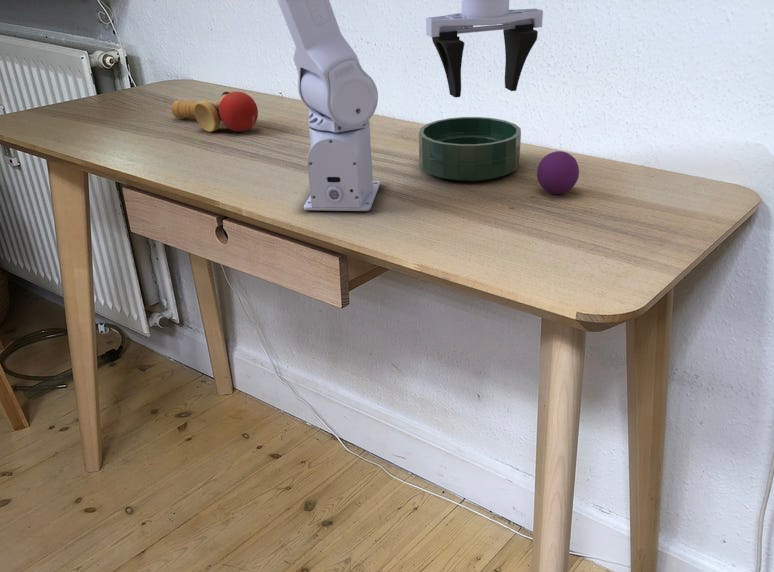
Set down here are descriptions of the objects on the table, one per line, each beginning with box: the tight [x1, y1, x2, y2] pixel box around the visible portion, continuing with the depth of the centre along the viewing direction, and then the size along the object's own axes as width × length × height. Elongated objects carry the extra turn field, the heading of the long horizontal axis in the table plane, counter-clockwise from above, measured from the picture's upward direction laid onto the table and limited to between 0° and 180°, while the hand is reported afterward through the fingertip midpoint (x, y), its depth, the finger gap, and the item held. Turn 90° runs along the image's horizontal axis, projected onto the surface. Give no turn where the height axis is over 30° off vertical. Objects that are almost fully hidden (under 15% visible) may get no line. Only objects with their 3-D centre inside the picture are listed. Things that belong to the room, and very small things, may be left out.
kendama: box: [171, 89, 259, 133], centre depth 122 cm, size 8×6×18 cm
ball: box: [536, 150, 580, 195], centre depth 91 cm, size 5×5×5 cm
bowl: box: [418, 116, 522, 182], centre depth 100 cm, size 13×13×5 cm
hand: (483, 92), depth 97 cm, fingers open, 7 cm apart
